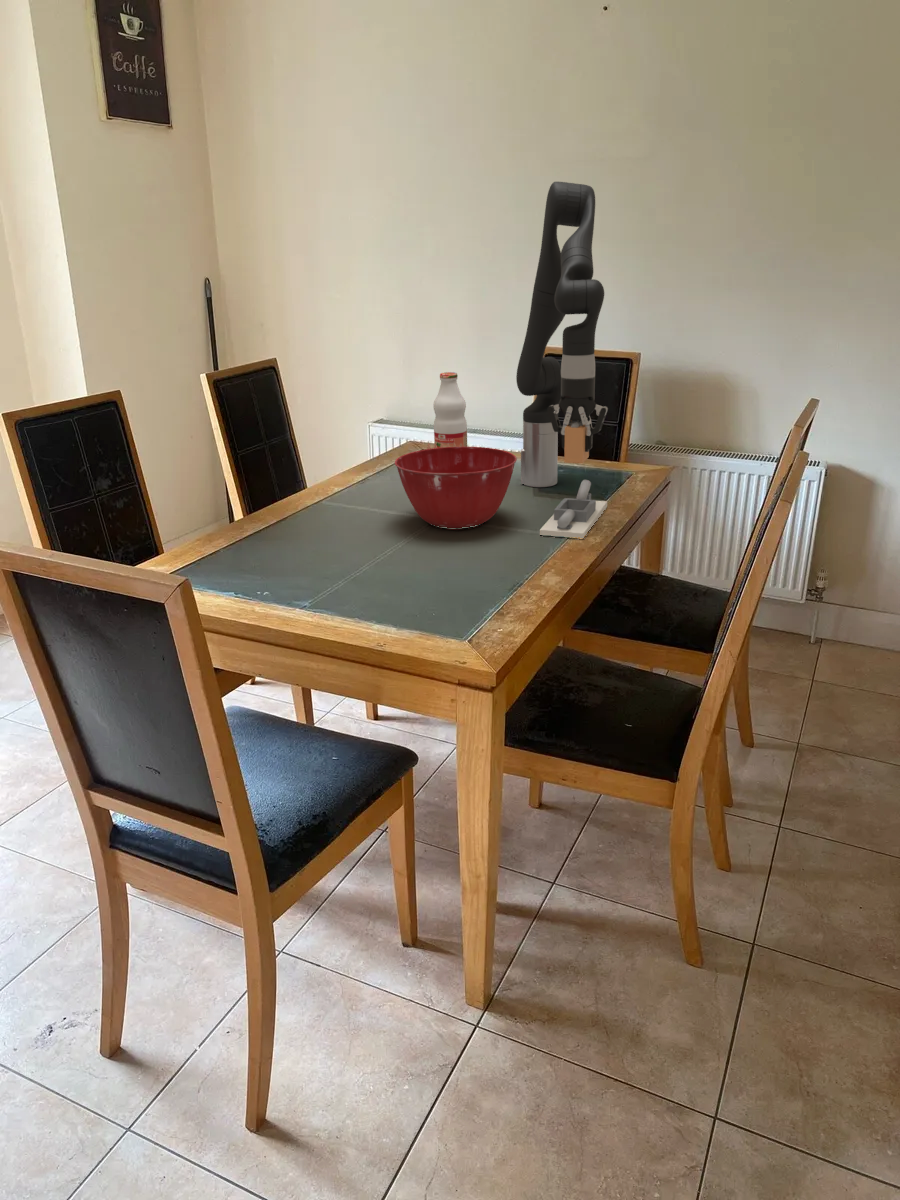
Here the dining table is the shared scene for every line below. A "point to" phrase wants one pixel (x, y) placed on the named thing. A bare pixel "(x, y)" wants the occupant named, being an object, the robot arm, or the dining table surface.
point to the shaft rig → (575, 514)
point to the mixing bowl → (456, 483)
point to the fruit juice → (449, 413)
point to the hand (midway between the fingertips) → (576, 450)
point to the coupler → (575, 443)
